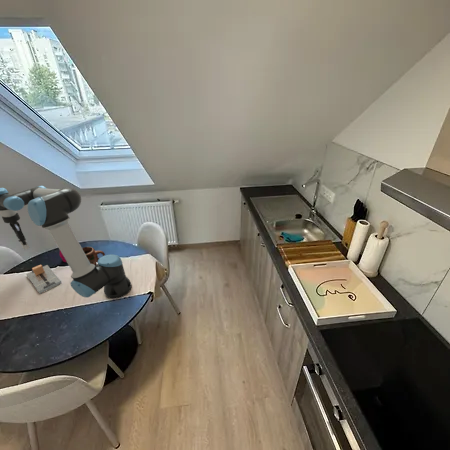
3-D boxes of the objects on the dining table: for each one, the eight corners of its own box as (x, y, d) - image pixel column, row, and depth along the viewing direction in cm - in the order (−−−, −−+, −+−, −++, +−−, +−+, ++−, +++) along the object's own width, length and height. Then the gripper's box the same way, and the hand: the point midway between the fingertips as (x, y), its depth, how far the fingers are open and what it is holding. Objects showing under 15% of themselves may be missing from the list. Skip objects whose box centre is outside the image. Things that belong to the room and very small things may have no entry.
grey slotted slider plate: (61, 283, 154) (60, 280, 153) (39, 294, 147) (38, 290, 145) (48, 267, 168) (46, 264, 167) (27, 276, 160) (25, 273, 159)
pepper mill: (68, 263, 172) (58, 238, 162) (59, 261, 173) (49, 237, 163) (76, 256, 178) (66, 232, 168) (67, 255, 179) (57, 232, 169)
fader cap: (44, 271, 161) (42, 265, 158) (35, 275, 157) (32, 269, 155) (43, 270, 162) (40, 264, 160) (34, 274, 159) (31, 268, 156)
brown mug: (107, 258, 176) (102, 242, 169) (108, 268, 166) (102, 251, 159) (75, 266, 169) (69, 249, 162) (74, 277, 159) (67, 259, 152)
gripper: (20, 215, 142) (36, 249, 154) (14, 208, 151) (29, 241, 162) (4, 220, 137) (22, 255, 149) (-2, 213, 146) (15, 246, 157)
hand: (26, 248), depth 156 cm, fingers closed
